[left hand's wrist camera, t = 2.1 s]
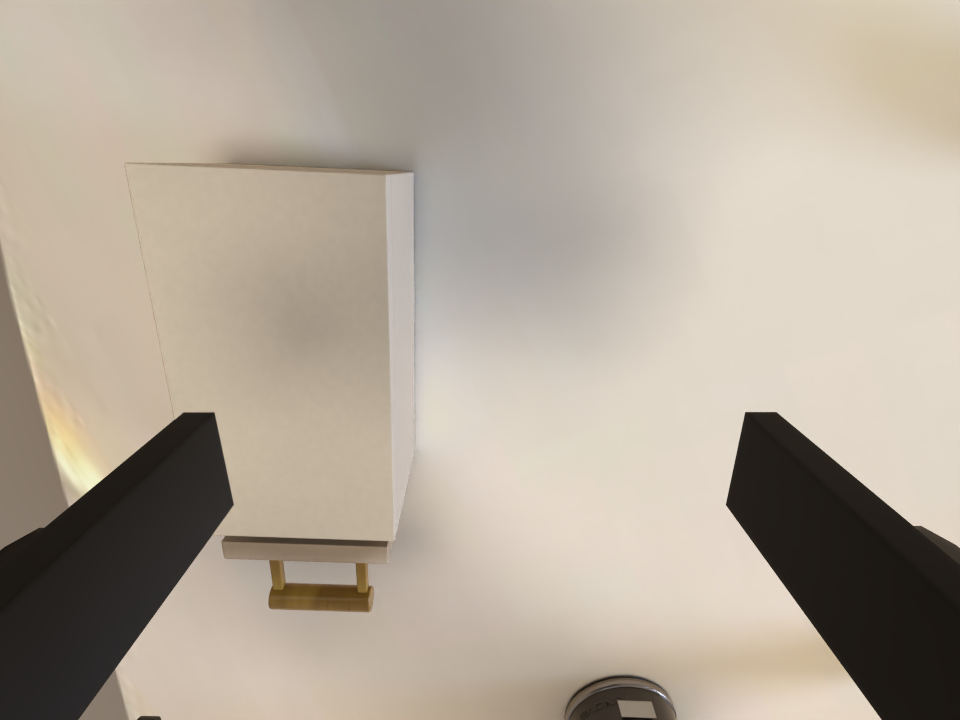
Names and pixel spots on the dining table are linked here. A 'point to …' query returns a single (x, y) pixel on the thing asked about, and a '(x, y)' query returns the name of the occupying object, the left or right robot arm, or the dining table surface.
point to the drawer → (316, 551)
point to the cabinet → (289, 334)
